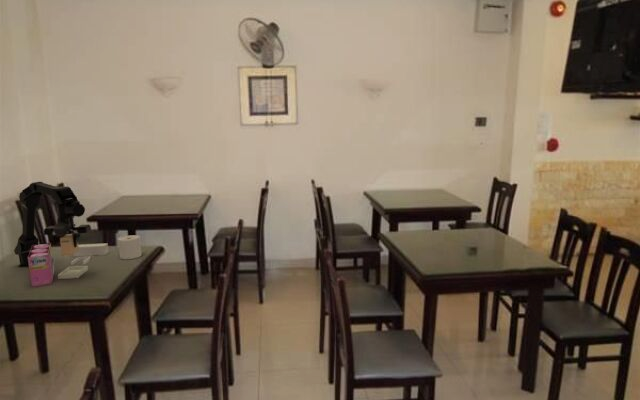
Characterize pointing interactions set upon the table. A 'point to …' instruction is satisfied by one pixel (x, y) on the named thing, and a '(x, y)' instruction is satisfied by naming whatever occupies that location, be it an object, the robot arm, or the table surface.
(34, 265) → the gum box
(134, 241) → the toilet tissue
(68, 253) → the tan cuboid block
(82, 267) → the tray
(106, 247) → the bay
